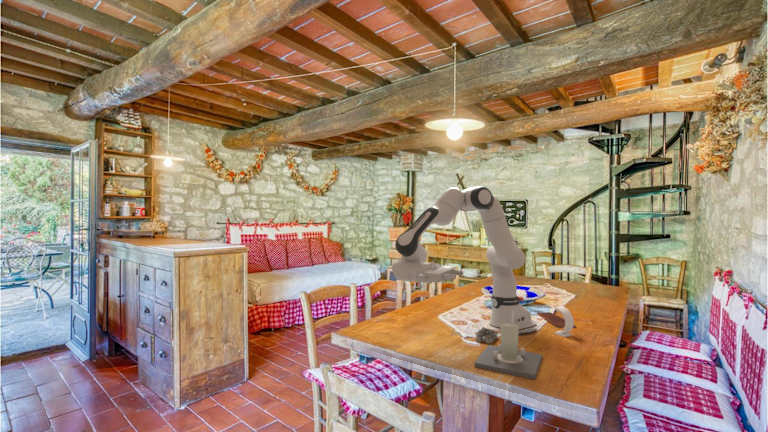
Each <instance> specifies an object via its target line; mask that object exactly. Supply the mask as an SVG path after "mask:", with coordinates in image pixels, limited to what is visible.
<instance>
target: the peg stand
mask: <svg viewBox="0 0 768 432" xmlns="http://www.w3.org/2000/svg"><path fill="white" fill-rule="evenodd" d="M542 360H543V354H542V353H537V352H530V351H526V349H525V347H524V348H523V347H521V348H520V350H519V349H518V355H517V361H507V360H504V359H502V358H501V343H499V344H498V346H497V345H491V344H488V345H487V346H486V347H485V349H484V350H483V351H482V352H481V353H480V355H479V356H478V357H477V358H476V360H475V361H474V367H475V368H478V369H483V370H489V371H493V372H498V373H503V374H507V375H512V376H517V377H521V378H526V379H529V380H530V379H532V380H536V378H537V375H538V372H539V369H540V366H541V364H542Z"/></svg>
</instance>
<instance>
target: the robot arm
mask: <svg viewBox="0 0 768 432" xmlns="http://www.w3.org/2000/svg"><path fill="white" fill-rule="evenodd" d="M460 211H462V212H474V211H477V212H478V213H479V214H480V218H481V221H482V225H483V228H484V233H485V235H486V238H487V239H488V240H489V241H490V243H491V245H490V246H488V247H487V249H486V252H485V255H486V259H487V260H488V263H489V267H490V271H491V277H492V294H491V306H492V308H491V313H490V315H491V316H490V320H489V324H490V325H491V326H493V327H496V328H500V329H501V324H502V323H514V324H517V325H518V331H519V330H523V329H527V328H530V327H535V326H537V322H536V321H535V320H533V319H532V315H531V311H529V310H528V309H527V308H526V307H524V306H523V305H522V304H521V303H520V302H524V300H525V299H524V297H523V296H518V295H517V278H516V276H515V275H514V272H513V270H518V269H520V268H521V267H523V266H524V264H525V262H526V255H525V253H524V252H523V251H524V250H522V249H521V248H520V247H519V246H518V243H517V242H516V240H515V239H514V237H513V236H514V235H512V232H511V230H510V227H509V224H508V221H507V217H506V213H505V212H504V209H503V206H502V204H501V202H500V200H499V198H498V197H497V196H494V195H493V193H492V192H491V190H490V189H489V188H488V187H486V186H481V185H479V186H473V187H468V188H467V189H466V188H465V189H462V190H461V189H460V188H458V187H453V186H452V187H449V188H447V189H446V190H445V191H444V192H443V193H442V194H441V196H440V197H438V199H437V201H436V202H435V203H434V204H433V206H432V207H428V208H427V209H425V210H424V211H423V212H422V213H421V214H420V215H419V216H418V218H417V219H416V220H415V221H414V222H413V223H412V224H411V225H410V226H409V228H407V229H406V230H405V231H404V232H402V233H401V234H400V235H398V237H397V239H396V240H395V242H394V243H395V250H396V251H397V252H398V254H400V255H401V256H400V257H399V259H397V261H394V262H393V263H392V266H391V271H392V274H393V276H394V278H395V279H396V280H398V281H403V282H409V283H412V282H417V283H421V284H428V285H429V284H430V285H431V284H432V283H442V282H443V281H445V280H446V281H447V280H448V281H449V280H451V281H452V280H456V279H457V276H459V277H460V276H464V271H463V270H458V269H456V266H452V265H445V264H439V263H436V262H431V261H429V262H427V261H426V260H427V258H428V257H427V256H428V253H427V251H426V249H425V247H424V246H423V245H422V243H421V242H420V238H421V236H422V235H423V234H424V233H425V232H426V231H427V230H428V228H429V227H431V225H438V226H441V227H444V226H447V225H450V224H451V223H452V222H453V221H454V219H455V217H456V216H457V215H458V213H459V212H460Z"/></svg>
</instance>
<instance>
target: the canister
mask: <svg viewBox="0 0 768 432" xmlns="http://www.w3.org/2000/svg"><path fill="white" fill-rule="evenodd" d="M500 344H501V358H502V359H504V360H507V361H517V355H518V350H519V330H518V325H517V324H514V323H502V324H501V328H500Z"/></svg>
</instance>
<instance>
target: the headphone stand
mask: <svg viewBox="0 0 768 432" xmlns="http://www.w3.org/2000/svg"><path fill="white" fill-rule="evenodd" d="M554 309H555V310H556V311H558V312H559V313H560V314H561V315H562V317H563V319H564V320H565V327H564V328H562V329H563V330H557V331H555V332H554V334H555V335H557V336H560V337H563V338H567V337H570V336H572V333H571V331H572V330H573V329H574V328H573V326H574V325H575V324H574V323H575V322H574V317H573V314H572V313H571V312H570V310H569V309H568V308H566V307H565V306H563V305H561V306H555V307H554Z"/></svg>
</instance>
